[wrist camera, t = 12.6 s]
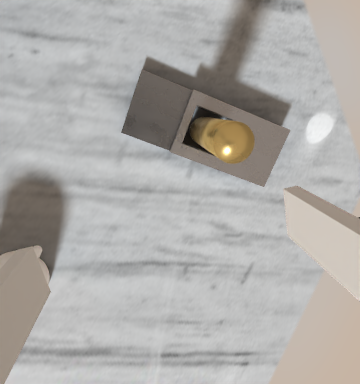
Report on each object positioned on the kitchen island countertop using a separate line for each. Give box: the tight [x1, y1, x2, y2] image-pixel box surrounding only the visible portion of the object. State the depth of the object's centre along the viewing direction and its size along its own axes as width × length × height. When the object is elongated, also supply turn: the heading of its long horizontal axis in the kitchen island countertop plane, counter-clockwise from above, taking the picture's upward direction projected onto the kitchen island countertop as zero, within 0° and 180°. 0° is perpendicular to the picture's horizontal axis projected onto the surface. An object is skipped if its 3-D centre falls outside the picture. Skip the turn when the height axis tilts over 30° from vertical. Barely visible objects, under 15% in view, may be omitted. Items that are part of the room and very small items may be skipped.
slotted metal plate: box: [121, 69, 290, 187], centre depth 38 cm, size 20×8×3 cm, turn 69°
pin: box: [190, 117, 255, 164], centre depth 32 cm, size 4×4×15 cm
